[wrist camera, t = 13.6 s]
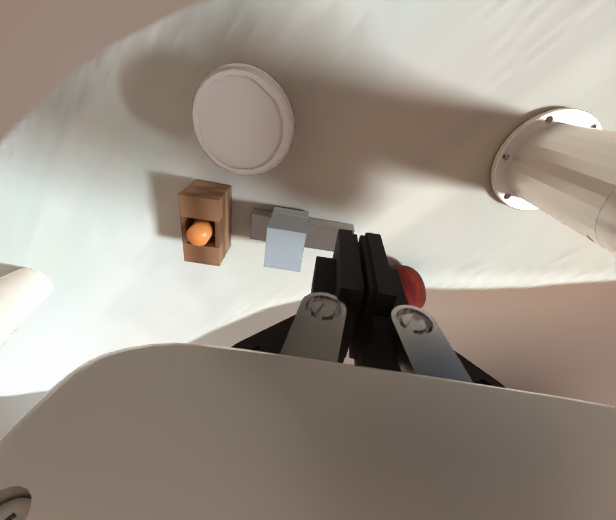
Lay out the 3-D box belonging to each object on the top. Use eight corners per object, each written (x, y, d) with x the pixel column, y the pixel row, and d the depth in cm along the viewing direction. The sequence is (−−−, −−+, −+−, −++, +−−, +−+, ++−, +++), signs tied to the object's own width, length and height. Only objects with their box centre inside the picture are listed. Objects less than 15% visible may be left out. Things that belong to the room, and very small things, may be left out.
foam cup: (18, 298, 55) (-59, 353, 44) (-4, 256, 50) (-97, 307, 39) (69, 304, 55) (5, 360, 44) (52, 264, 50) (-24, 316, 39)
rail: (353, 224, 44) (354, 230, 42) (347, 247, 46) (348, 253, 44) (254, 209, 43) (251, 214, 41) (253, 232, 45) (250, 238, 43)
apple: (374, 296, 51) (382, 330, 44) (369, 260, 47) (377, 291, 40) (418, 290, 50) (433, 323, 43) (416, 252, 46) (432, 282, 39)
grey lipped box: (308, 212, 42) (306, 232, 37) (302, 248, 46) (299, 272, 40) (274, 206, 42) (267, 226, 36) (271, 243, 45) (263, 267, 40)
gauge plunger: (216, 217, 40) (207, 228, 37) (216, 235, 41) (208, 247, 38) (195, 214, 40) (185, 225, 37) (196, 232, 41) (187, 244, 38)
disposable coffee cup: (311, 138, 37) (307, 160, 27) (245, 162, 39) (218, 191, 29) (284, 53, 33) (267, 41, 23) (211, 85, 35) (165, 87, 25)
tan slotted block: (231, 185, 41) (218, 200, 36) (230, 245, 46) (219, 266, 41) (196, 179, 41) (178, 194, 36) (199, 240, 46) (184, 260, 41)
